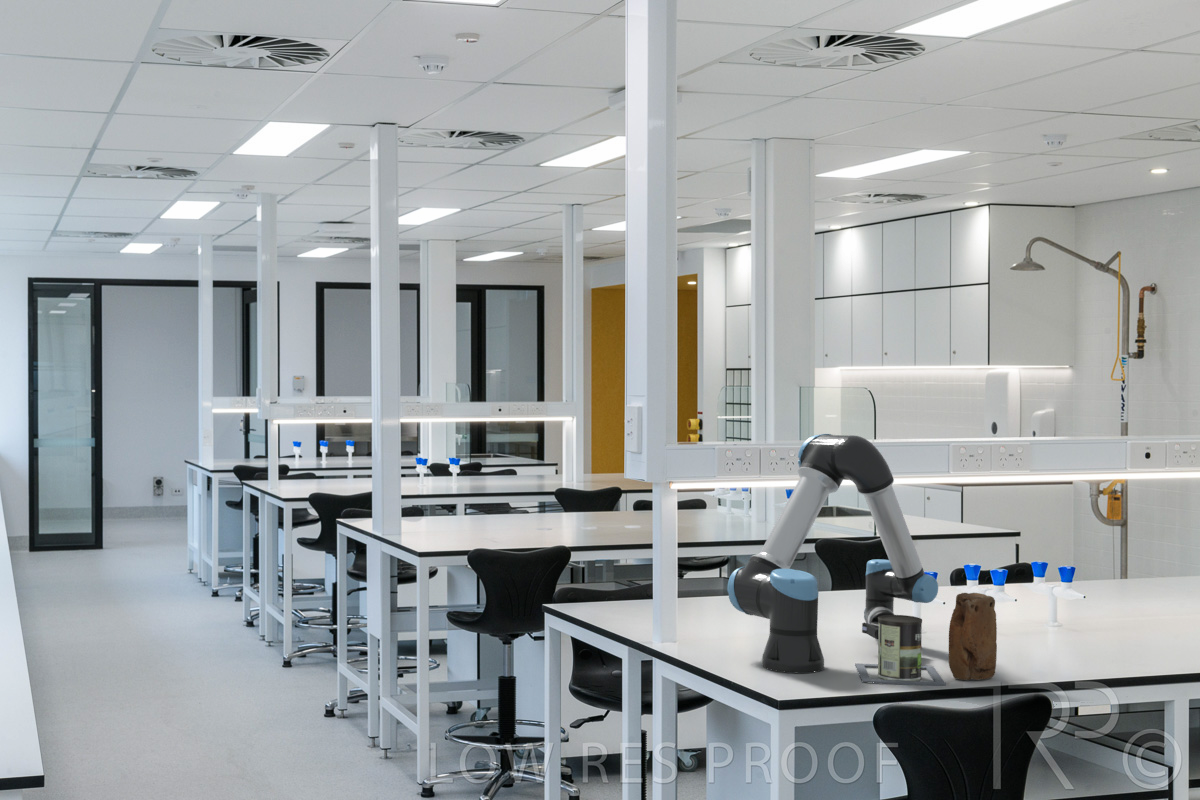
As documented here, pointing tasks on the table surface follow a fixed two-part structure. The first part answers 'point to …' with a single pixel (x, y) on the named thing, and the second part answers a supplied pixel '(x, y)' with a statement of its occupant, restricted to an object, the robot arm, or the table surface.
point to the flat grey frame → (931, 670)
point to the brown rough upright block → (973, 637)
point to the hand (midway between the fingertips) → (894, 640)
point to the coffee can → (899, 647)
